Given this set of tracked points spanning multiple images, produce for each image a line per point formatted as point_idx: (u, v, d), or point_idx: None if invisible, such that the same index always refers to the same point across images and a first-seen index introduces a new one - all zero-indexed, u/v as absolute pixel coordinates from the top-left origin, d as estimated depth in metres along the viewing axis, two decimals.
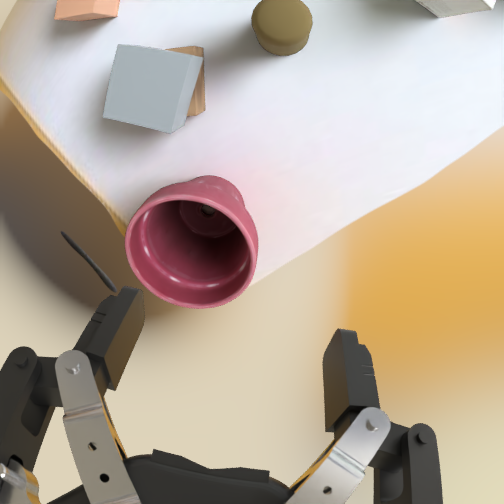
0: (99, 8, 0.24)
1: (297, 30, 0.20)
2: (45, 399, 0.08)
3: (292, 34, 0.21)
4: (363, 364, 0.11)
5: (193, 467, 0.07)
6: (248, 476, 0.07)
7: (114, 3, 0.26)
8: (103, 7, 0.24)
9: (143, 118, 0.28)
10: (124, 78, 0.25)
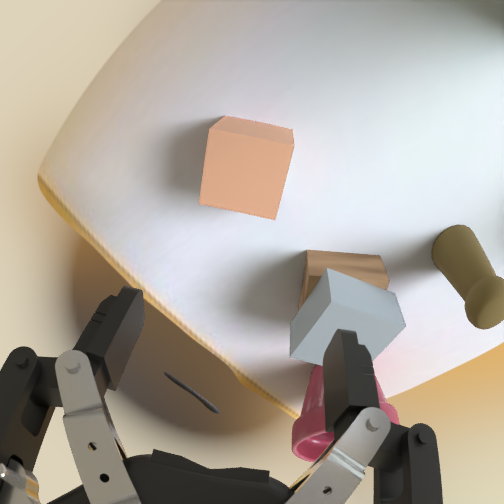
0: None
1: (499, 322, 0.22)
2: (44, 399, 0.08)
3: (494, 325, 0.22)
4: (363, 364, 0.11)
5: (193, 467, 0.07)
6: (248, 476, 0.07)
7: None
8: None
9: None
10: (329, 333, 0.26)
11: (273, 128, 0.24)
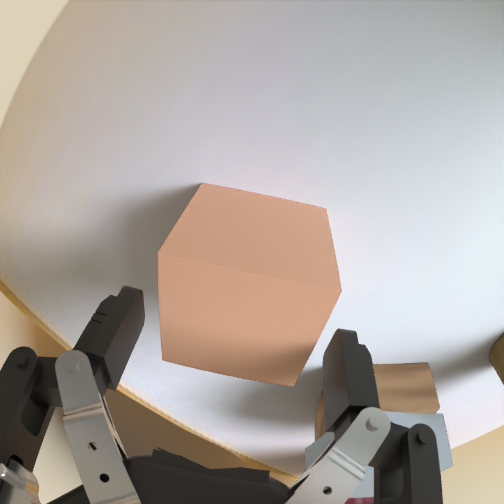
0: None
1: None
2: (44, 399, 0.08)
3: None
4: (363, 364, 0.11)
5: (193, 467, 0.07)
6: (248, 476, 0.07)
7: None
8: None
9: (361, 495, 0.18)
10: None
11: (293, 215, 0.13)
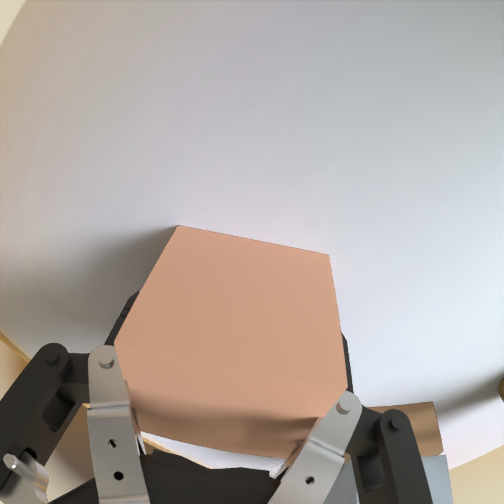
0: None
1: None
2: (74, 396, 0.08)
3: None
4: None
5: (193, 467, 0.07)
6: (248, 476, 0.07)
7: None
8: None
9: None
10: None
11: (288, 271, 0.11)
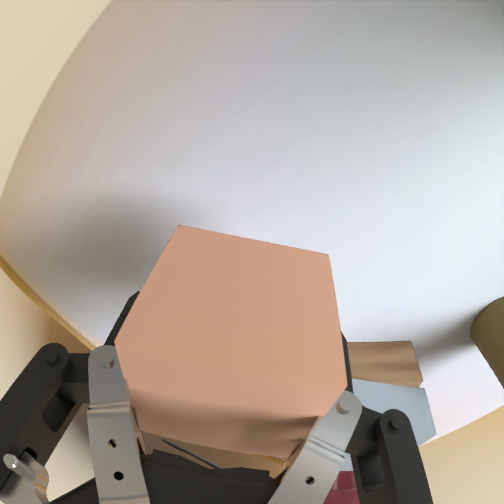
0: None
1: None
2: (74, 396, 0.08)
3: None
4: None
5: (193, 467, 0.07)
6: (248, 476, 0.07)
7: None
8: None
9: (352, 468, 0.21)
10: None
11: (288, 270, 0.11)
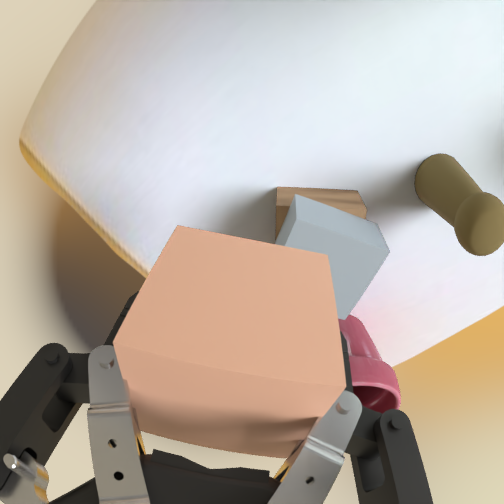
0: None
1: (497, 247, 0.19)
2: (74, 396, 0.08)
3: (492, 250, 0.20)
4: None
5: (193, 467, 0.07)
6: (248, 476, 0.07)
7: None
8: None
9: None
10: None
11: (287, 271, 0.11)
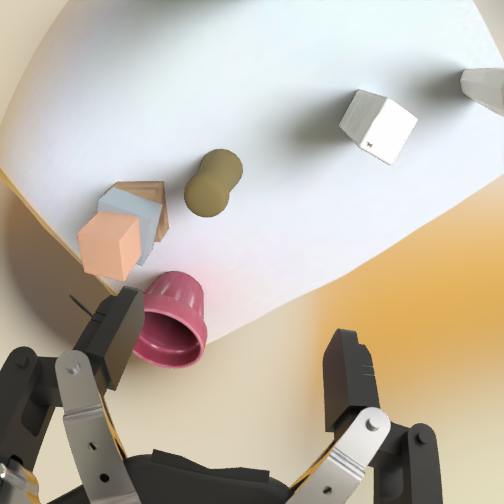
0: (127, 271, 0.38)
1: (215, 210, 0.35)
2: (44, 399, 0.08)
3: (211, 213, 0.35)
4: (363, 364, 0.11)
5: (193, 467, 0.07)
6: (248, 476, 0.07)
7: (136, 249, 0.40)
8: (130, 265, 0.38)
9: None
10: None
11: (122, 220, 0.37)
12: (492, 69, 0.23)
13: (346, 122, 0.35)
